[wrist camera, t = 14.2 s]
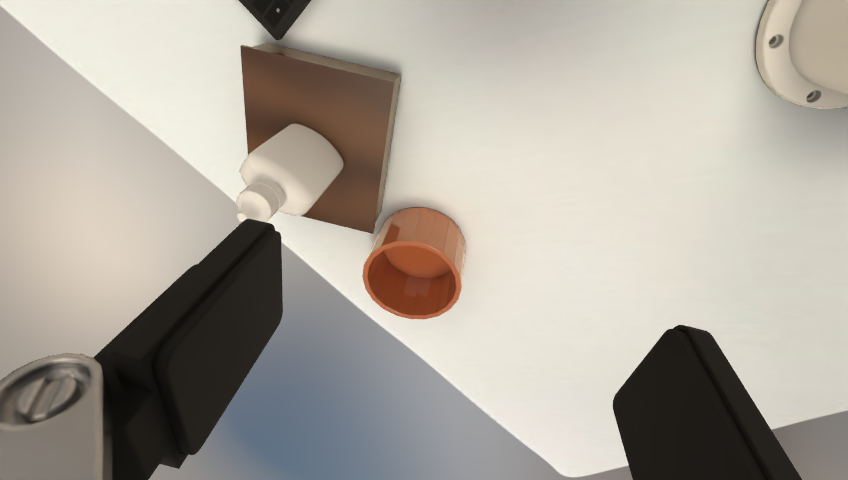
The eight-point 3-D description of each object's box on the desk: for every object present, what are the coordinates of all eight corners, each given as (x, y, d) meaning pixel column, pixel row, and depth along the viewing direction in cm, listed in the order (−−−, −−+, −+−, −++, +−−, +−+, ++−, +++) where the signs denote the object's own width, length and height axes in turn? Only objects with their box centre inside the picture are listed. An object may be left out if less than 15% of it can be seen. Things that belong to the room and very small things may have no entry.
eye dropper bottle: (310, 185, 36) (241, 260, 26) (278, 128, 34) (188, 188, 24) (350, 172, 35) (293, 246, 25) (320, 111, 32) (243, 168, 22)
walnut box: (265, 39, 34) (240, 45, 30) (404, 72, 34) (394, 82, 30) (270, 186, 42) (251, 203, 39) (382, 214, 42) (373, 233, 38)
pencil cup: (385, 197, 40) (368, 230, 35) (475, 219, 40) (472, 255, 35) (374, 268, 46) (358, 306, 40) (453, 288, 46) (448, 328, 40)
